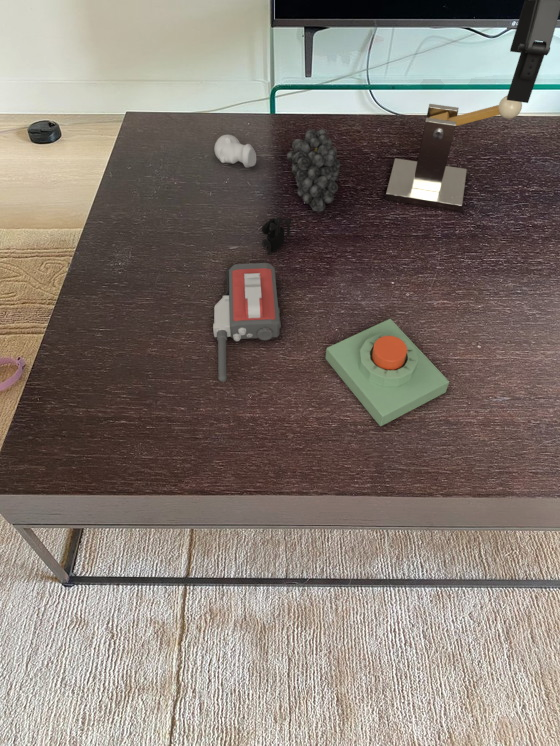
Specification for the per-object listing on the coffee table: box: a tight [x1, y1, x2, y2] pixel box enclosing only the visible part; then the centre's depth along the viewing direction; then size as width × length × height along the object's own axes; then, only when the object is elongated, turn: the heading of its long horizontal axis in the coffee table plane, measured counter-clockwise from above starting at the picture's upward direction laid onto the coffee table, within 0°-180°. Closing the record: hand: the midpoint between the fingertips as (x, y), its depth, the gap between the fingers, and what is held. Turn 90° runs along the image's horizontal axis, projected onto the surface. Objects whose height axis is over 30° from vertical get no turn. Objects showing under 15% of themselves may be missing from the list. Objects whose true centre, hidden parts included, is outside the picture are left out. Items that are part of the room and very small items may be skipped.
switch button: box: [372, 336, 407, 370], centre depth 75 cm, size 4×4×2 cm
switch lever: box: [430, 95, 523, 127], centre depth 91 cm, size 13×3×3 cm, turn 76°
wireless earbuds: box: [261, 216, 292, 257], centre depth 91 cm, size 7×2×5 cm, turn 145°
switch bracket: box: [384, 103, 468, 213], centre depth 97 cm, size 12×10×13 cm
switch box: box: [325, 318, 450, 427], centre depth 77 cm, size 12×10×4 cm
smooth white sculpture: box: [213, 134, 257, 169], centre depth 105 cm, size 4×8×5 cm
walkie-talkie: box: [212, 262, 282, 383], centre depth 81 cm, size 9×4×20 cm
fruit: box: [286, 128, 341, 213], centre depth 98 cm, size 9×8×15 cm
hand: (518, 75), depth 85 cm, fingers open, 13 cm apart
